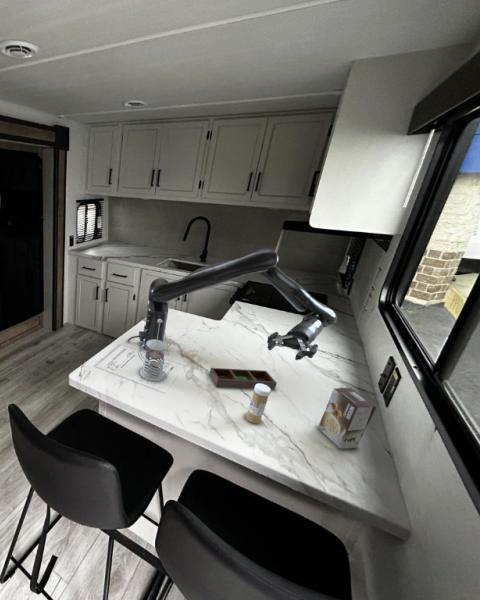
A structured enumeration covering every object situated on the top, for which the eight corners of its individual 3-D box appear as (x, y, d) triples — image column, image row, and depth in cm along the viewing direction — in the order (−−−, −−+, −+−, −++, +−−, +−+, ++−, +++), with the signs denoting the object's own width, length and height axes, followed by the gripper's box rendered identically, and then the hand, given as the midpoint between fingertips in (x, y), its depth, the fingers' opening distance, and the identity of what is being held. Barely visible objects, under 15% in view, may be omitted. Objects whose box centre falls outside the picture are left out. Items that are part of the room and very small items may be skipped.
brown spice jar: (242, 415, 109) (252, 383, 104) (254, 414, 110) (264, 382, 105) (251, 425, 105) (262, 392, 100) (263, 423, 106) (274, 391, 101)
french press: (159, 384, 124) (168, 327, 114) (132, 374, 129) (139, 319, 120) (167, 372, 131) (176, 318, 122) (141, 363, 137) (148, 310, 128)
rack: (274, 390, 123) (276, 382, 122) (216, 387, 124) (217, 379, 122) (263, 377, 131) (266, 370, 129) (208, 374, 131) (210, 367, 130)
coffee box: (358, 448, 98) (378, 407, 92) (339, 449, 97) (358, 407, 91) (334, 426, 106) (351, 387, 100) (316, 426, 106) (332, 387, 100)
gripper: (282, 319, 120) (262, 336, 111) (327, 332, 109) (308, 351, 101) (279, 336, 123) (259, 353, 114) (323, 350, 112) (304, 370, 104)
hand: (282, 352), depth 107 cm, fingers open, 8 cm apart
